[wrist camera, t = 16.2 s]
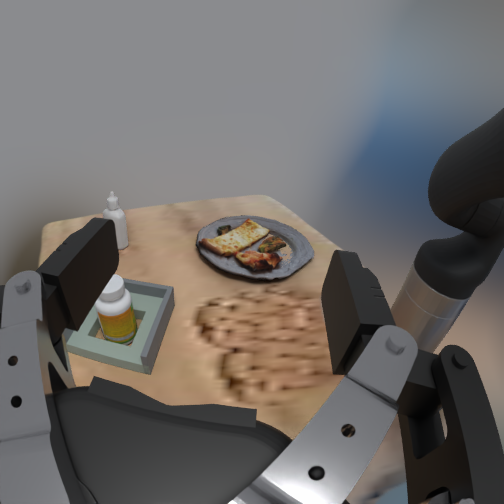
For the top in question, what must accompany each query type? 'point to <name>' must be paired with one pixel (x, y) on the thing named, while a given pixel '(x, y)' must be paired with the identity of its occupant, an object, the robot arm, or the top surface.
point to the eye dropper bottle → (117, 220)
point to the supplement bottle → (116, 312)
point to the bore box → (147, 337)
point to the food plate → (253, 247)
